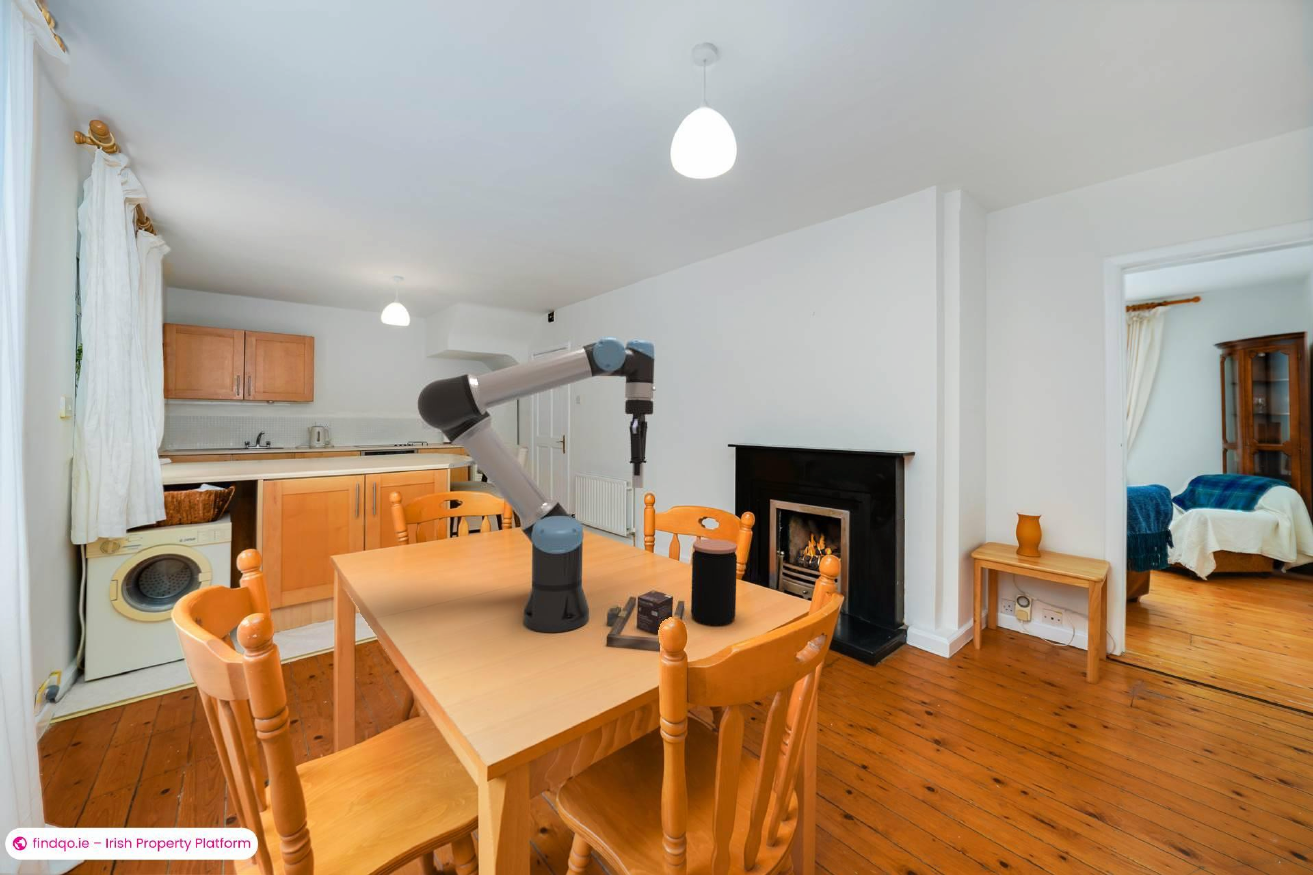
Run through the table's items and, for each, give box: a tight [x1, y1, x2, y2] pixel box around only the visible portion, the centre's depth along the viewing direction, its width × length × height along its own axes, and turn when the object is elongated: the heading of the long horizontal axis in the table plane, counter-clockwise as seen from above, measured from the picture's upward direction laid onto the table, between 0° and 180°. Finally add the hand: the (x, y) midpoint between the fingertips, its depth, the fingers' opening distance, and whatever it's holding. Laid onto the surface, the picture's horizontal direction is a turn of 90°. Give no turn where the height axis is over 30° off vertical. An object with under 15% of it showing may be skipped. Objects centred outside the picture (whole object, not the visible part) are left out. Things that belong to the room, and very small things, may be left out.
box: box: [636, 589, 674, 636], centre depth 114 cm, size 6×6×7 cm
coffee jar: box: [690, 538, 738, 627], centre depth 120 cm, size 11×11×18 cm
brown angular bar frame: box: [606, 596, 685, 652], centre depth 115 cm, size 17×24×4 cm
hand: (637, 487), depth 134 cm, fingers closed
